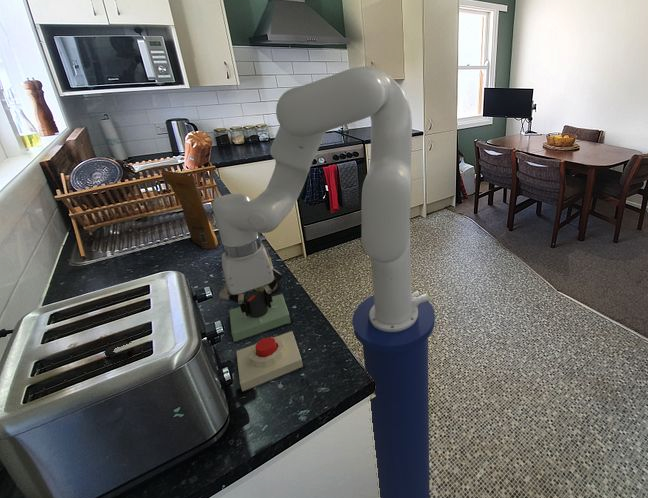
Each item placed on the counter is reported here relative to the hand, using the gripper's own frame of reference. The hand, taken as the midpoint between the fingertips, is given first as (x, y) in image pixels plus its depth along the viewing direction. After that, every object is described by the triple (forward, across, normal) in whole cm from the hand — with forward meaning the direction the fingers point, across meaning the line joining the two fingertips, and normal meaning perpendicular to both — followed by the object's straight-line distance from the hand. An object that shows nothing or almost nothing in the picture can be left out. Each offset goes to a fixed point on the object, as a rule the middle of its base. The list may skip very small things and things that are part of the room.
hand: (257, 308), depth 88 cm
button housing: (+4, +2, +16) cm, 16 cm away
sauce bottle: (+4, -4, -13) cm, 14 cm away
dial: (+1, 0, 0) cm, 1 cm away
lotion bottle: (+4, +22, +20) cm, 30 cm away
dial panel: (+4, 0, 0) cm, 4 cm away
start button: (0, +1, +16) cm, 16 cm away
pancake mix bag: (+4, +8, -57) cm, 58 cm away
